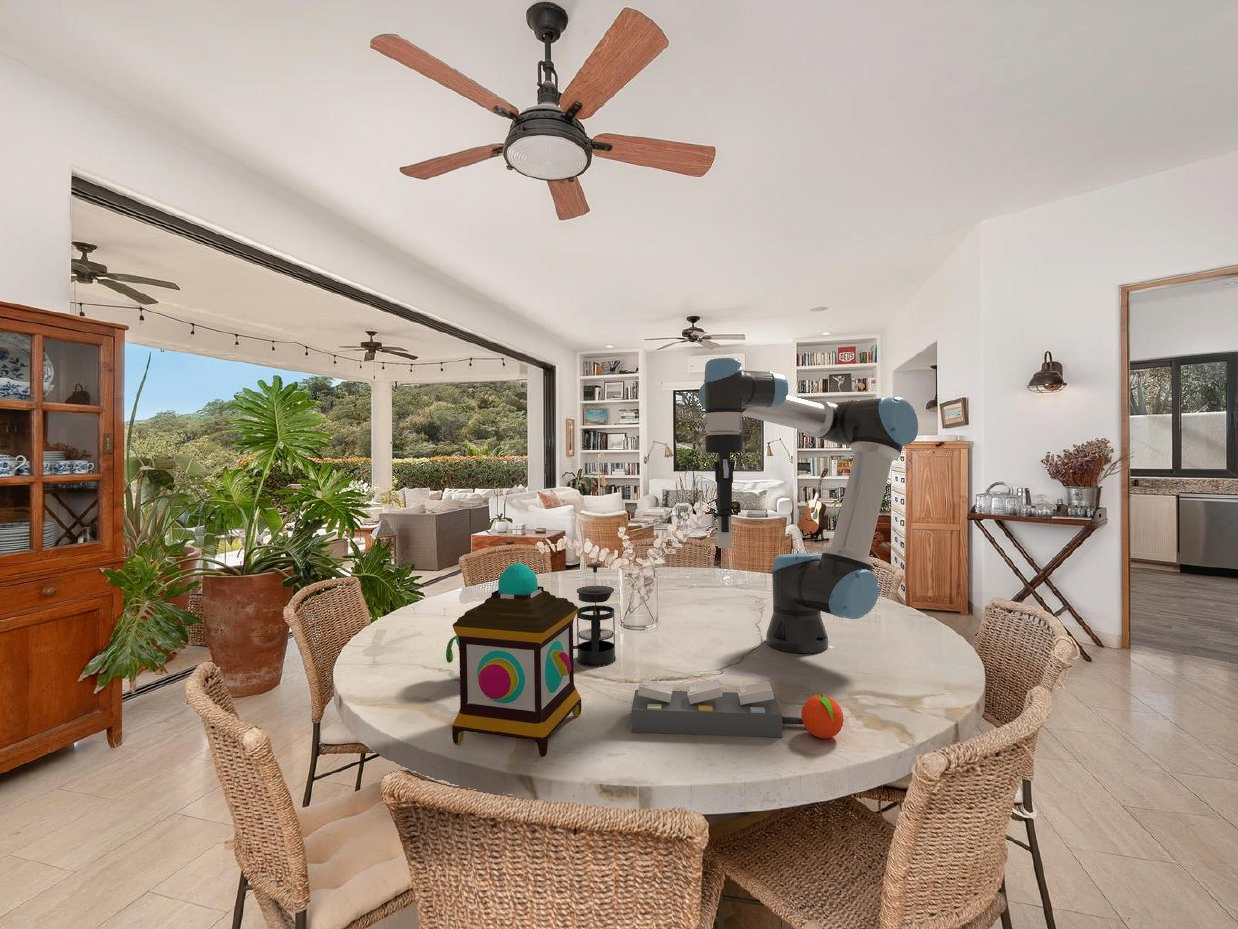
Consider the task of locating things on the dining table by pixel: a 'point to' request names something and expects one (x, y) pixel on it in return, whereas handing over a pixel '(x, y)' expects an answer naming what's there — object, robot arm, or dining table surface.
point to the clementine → (822, 716)
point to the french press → (595, 625)
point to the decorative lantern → (516, 662)
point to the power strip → (709, 716)
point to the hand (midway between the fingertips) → (724, 547)
